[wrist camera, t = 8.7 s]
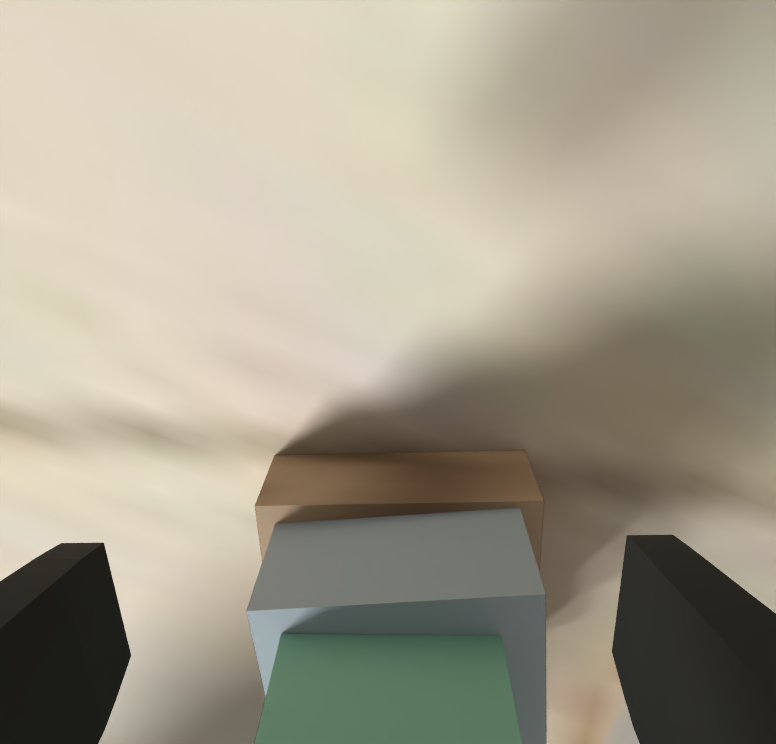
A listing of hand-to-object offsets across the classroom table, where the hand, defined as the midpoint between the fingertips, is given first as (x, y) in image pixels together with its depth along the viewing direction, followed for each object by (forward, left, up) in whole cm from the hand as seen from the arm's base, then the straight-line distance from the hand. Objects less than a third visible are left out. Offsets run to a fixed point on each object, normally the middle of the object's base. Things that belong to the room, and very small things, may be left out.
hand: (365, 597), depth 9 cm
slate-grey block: (0, -6, -6) cm, 8 cm away
